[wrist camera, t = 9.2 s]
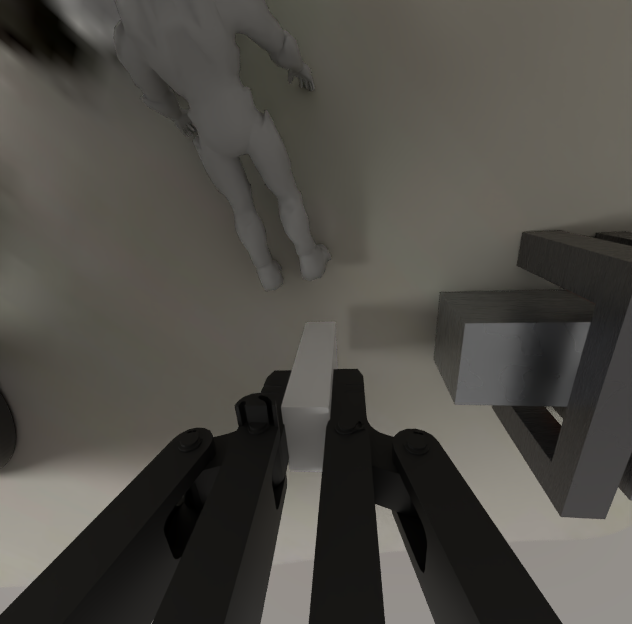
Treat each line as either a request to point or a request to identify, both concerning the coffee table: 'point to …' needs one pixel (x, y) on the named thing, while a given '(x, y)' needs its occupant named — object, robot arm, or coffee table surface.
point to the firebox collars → (584, 377)
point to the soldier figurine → (222, 107)
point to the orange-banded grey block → (511, 345)
